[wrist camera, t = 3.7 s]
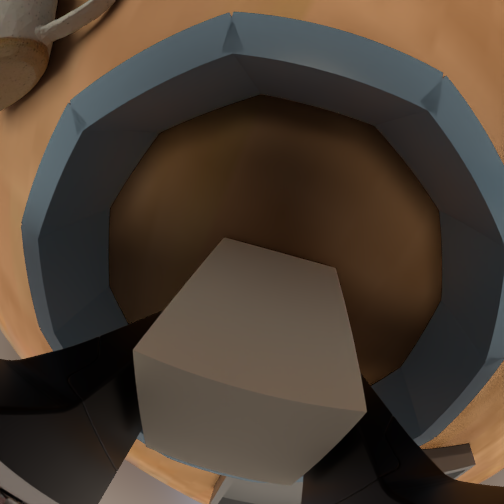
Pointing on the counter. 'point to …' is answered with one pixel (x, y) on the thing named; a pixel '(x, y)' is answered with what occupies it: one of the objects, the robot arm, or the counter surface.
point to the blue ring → (303, 91)
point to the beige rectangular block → (251, 366)
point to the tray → (289, 497)
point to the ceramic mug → (34, 40)
